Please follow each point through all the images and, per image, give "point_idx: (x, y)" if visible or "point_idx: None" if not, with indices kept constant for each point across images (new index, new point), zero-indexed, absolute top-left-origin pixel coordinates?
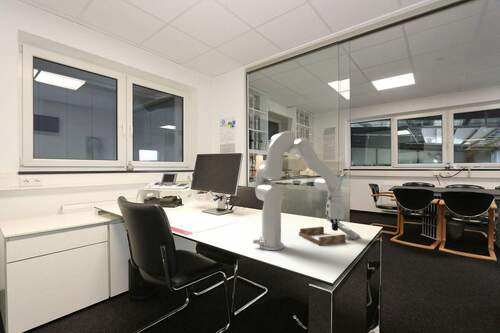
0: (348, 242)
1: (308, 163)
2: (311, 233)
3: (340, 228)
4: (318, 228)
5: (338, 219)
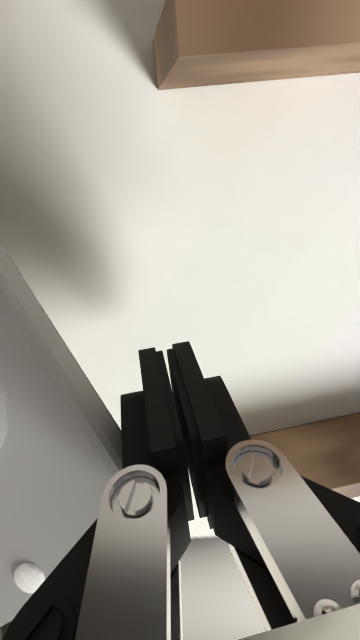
0: (96, 20)
1: None
2: (346, 427)
3: (72, 380)
4: None
5: (120, 625)
